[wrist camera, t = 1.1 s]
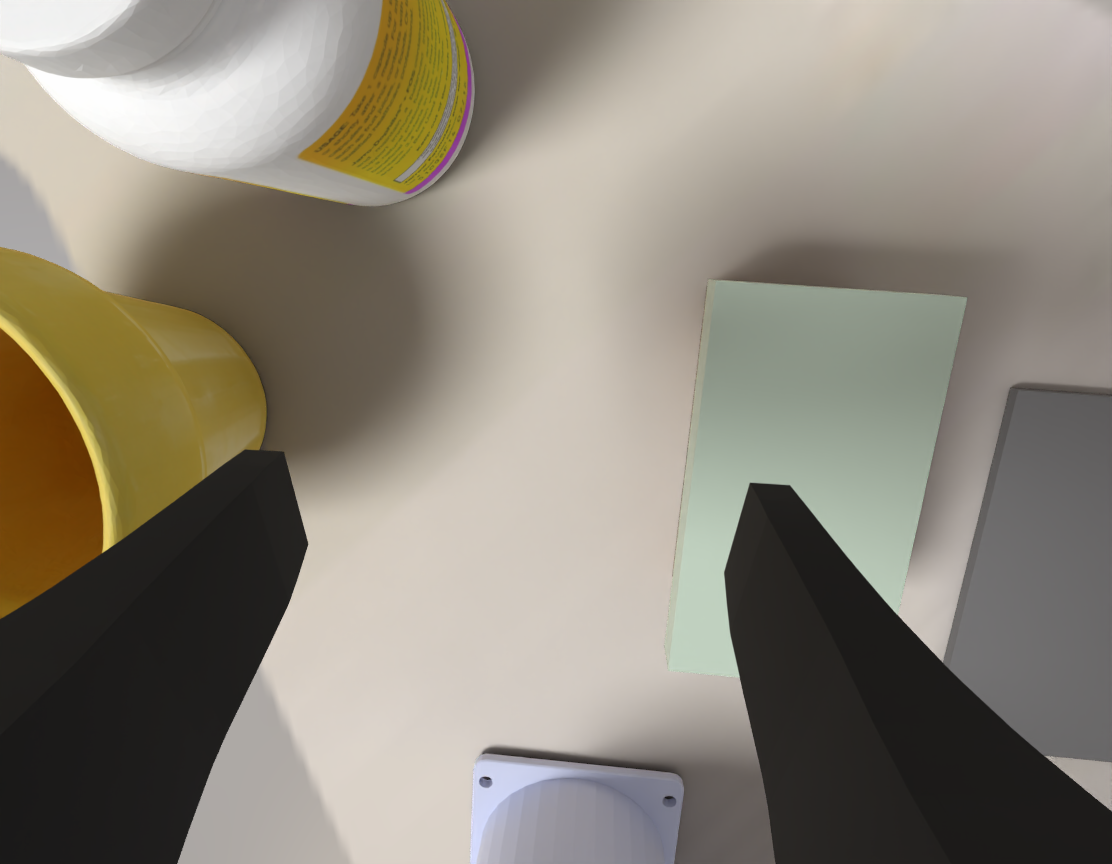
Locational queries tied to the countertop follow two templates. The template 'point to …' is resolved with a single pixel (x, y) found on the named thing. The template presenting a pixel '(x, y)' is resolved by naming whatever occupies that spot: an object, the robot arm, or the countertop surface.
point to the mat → (1044, 577)
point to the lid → (807, 435)
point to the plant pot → (104, 417)
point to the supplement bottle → (261, 87)
